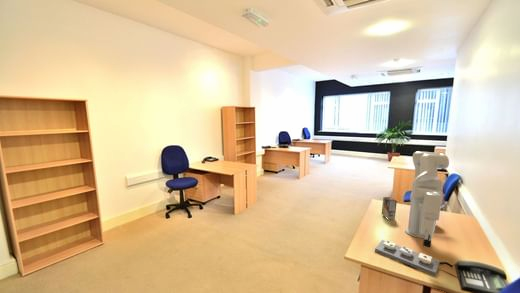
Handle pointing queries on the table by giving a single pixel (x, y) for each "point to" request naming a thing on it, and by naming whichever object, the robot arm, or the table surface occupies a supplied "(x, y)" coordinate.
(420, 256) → the tile
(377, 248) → the keypad board
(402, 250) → the white small block
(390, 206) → the coffee box
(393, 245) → the tile
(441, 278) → the table surface
